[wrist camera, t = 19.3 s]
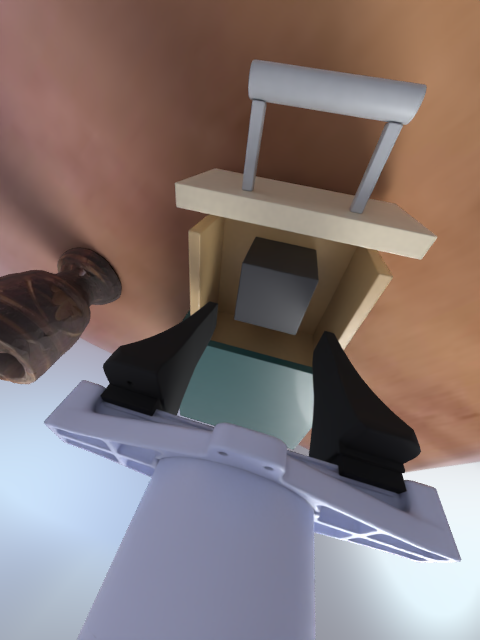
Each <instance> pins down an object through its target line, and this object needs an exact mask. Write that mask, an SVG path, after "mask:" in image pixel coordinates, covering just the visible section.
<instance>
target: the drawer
mask: <svg viewBox="0 0 480 640" xmlns="http://www.w3.org/2000/svg"><path fill="white" fill-rule="evenodd" d="M426 88H427V87H426V85H425V84H418V83H411V82H404V81H398V80H391V79H384V78H377V77H371V76H364V75H357V74H350V73H344V72H337V71H330V70H323V69H317V68H310V67H303V66H296V65H290V64H283V63H276V62H269V61H263V60H256V59H254V60H253V61H252V64H251V68H250V73H249V82H248V94H249V98H250V99H251V100H253V101H252V107H251V116H250V124H249V133H248V141H247V149H246V158H245V166H244V174H241V173H236V172H231V171H226V170H221V169H216V168H215V169H212V170H209V171H206V172H204V173H201V174H198V175H195V176H193V177H190V178H187V179H184V180H181V181H179V182H176V183H175V193H176V207H179V208H184V209H188V210H193V211H198V212H202V213H207V214H209V215H207V216H206V217H205V218H204V219H202V220H201V221H200V222H199V223H197V224H196V225H195V226H194V227H192V228H191V229H190V230H189V231H188V239H189V281H190V316H191V315H192V314H194V313H195V312H196V311H198V310H199V309H200V308H202V307H203V306H204V305H205V304H206V303H208V302H209V301H211V302H214V303H218V312H217V324H216V328H215V330H214V333H213V335H212V338H211V340H213V341H216V342H220V343H224V344H228V345H231V346H235V347H239V348H243V349H246V350H250V351H254V352H257V353H261V354H265V355H269V356H272V357H276V358H280V359H284V360H287V361H291V362H295V363H299V364H302V365H306V366H310V367H312V360H313V351H314V349H315V347H316V346H317V344H318V342H319V340H320V338H321V336H322V334H323V333H324V331H327V332H331V333H334V334H335V336H336V338H337V340H338V341H339V343H340V345H341V347H342V349H343V350H344V349H345V348H346V346H347V345H348V343H349V342H350V340H351V339H352V337H353V336H354V334H355V333H356V331H357V330H358V328H359V327H360V325H361V324H362V322H363V321H364V319H365V318H366V316H367V315H368V314H369V312H370V311H371V309H372V308H373V306H374V305H375V303H376V302H377V300H378V299H379V297H380V296H381V294H382V293H383V291H384V290H385V288H386V287H387V285H388V284H389V282H390V281H391V280H392V278H393V275H392V274H391V272H390V270H389V269H388V267H387V266H386V264H385V262H384V261H383V259H382V257H381V256H380V254H379V252H378V251H383V252H388V253H392V254H397V255H402V256H406V257H411V258H415V259H422V258H423V256H424V255H425V254H426V252H427V251H428V250H429V248H430V247H431V245H432V244H433V243H434V241H435V240H436V239H437V236H436V235H435V234H433V233H432V232H431V231H430V230H428V229H427V228H426V227H424V226H423V225H422V224H421V223H419V222H418V221H417V220H416V219H414V218H413V217H412V216H410V215H409V214H408V213H407V212H405V211H404V210H403V209H401V208H400V207H399V206H398V205H396V204H394V203H389V202H384V201H379V200H374V199H369V197H370V195H371V193H372V191H373V189H374V187H375V184H376V182H377V180H378V178H379V176H380V174H381V172H382V169H383V167H384V165H385V163H386V161H387V159H388V157H389V154H390V152H391V150H392V148H393V146H394V144H395V142H396V139H397V137H398V135H399V133H400V131H401V129H402V127H403V125H406V124H408V123H409V122H410V121H411V120H412V119H413V117H414V116H415V114H416V113H417V111H418V109H419V107H420V105H421V103H422V101H423V98H424V96H425V93H426ZM266 102H269V103H275V104H281V105H287V106H294V107H300V108H306V109H312V110H318V111H324V112H330V113H336V114H342V115H348V116H354V117H360V118H366V119H372V120H378V121H384V122H388V123H386V124H385V126H384V129H383V131H382V134H381V136H380V138H379V141H378V143H377V145H376V148H375V150H374V152H373V155H372V157H371V159H370V162H369V164H368V166H367V169H366V171H365V173H364V176H363V178H362V180H361V183H360V185H359V188H358V190H357V192H356V195H355V196H354V195H348V194H343V193H338V192H333V191H328V190H323V189H318V188H313V187H308V186H303V185H297V184H292V183H287V182H282V181H277V180H272V179H267V178H262V177H257V176H256V171H257V164H258V158H259V151H260V145H261V138H262V131H263V125H264V118H265V112H266ZM402 124H403V125H402ZM255 237H261V238H265V239H270V240H274V241H279V242H283V243H288V244H292V245H297V246H301V247H306V248H311V249H315V250H316V251H317V263H318V276H319V282H318V284H317V286H316V289H315V291H314V294H313V296H312V298H311V301H310V303H309V305H308V308H307V310H306V312H305V315H304V317H303V319H302V322H301V324H300V326H299V329H298V331H297V333H296V335H292V334H288V333H284V332H280V331H276V330H272V329H268V328H264V327H260V326H257V325H253V324H249V323H245V322H241V321H237V320H234V314H235V307H236V300H237V294H238V287H239V280H240V274H241V267H242V262H243V260H244V258H245V256H246V254H247V252H248V251H249V249H250V247H251V245H252V243H253V241H254V239H255ZM377 250H378V251H377Z"/></svg>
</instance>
